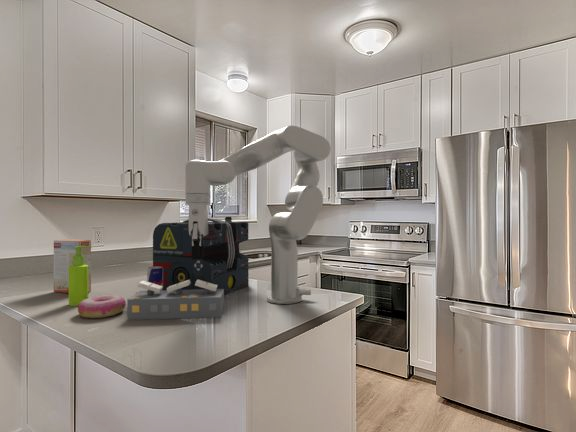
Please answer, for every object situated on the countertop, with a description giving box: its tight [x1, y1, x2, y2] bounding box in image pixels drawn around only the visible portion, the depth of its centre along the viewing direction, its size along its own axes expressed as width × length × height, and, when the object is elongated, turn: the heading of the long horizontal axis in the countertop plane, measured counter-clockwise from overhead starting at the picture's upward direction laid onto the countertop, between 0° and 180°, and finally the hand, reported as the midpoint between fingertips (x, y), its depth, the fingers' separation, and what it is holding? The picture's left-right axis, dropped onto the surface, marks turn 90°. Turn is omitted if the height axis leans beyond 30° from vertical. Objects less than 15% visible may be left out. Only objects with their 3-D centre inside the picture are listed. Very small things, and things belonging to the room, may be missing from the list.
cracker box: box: [53, 239, 92, 294], centre depth 142 cm, size 14×6×21 cm, turn 69°
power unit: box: [152, 216, 249, 296], centre depth 147 cm, size 28×28×30 cm
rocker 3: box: [195, 280, 218, 291], centre depth 113 cm, size 7×4×1 cm, turn 96°
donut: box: [77, 294, 127, 319], centre depth 111 cm, size 14×13×5 cm
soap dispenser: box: [68, 246, 92, 307], centre depth 124 cm, size 6×7×20 cm
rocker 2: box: [167, 279, 191, 292], centre depth 112 cm, size 7×4×1 cm, turn 96°
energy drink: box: [146, 266, 163, 291], centre depth 127 cm, size 5×5×12 cm
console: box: [126, 288, 225, 321], centre depth 112 cm, size 27×12×8 cm, turn 96°
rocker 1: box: [137, 280, 163, 293], centre depth 111 cm, size 7×4×1 cm, turn 96°
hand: (197, 257), depth 112 cm, fingers open, 2 cm apart
